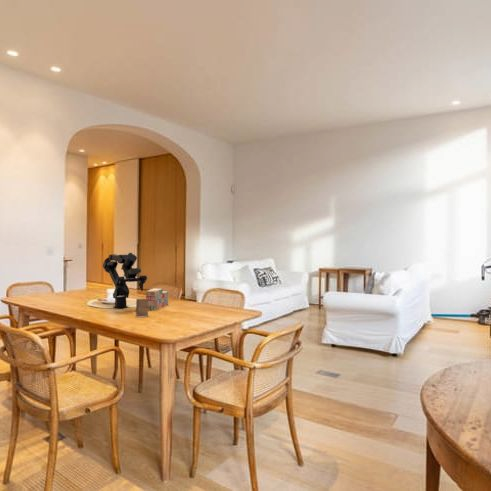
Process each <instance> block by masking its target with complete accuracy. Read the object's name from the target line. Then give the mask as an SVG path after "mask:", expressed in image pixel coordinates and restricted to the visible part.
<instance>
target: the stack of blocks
mask: <svg viewBox="0 0 491 491" xmlns="http://www.w3.org/2000/svg"><path fill="white" fill-rule="evenodd" d="M145 293H146V294H145V299H148V311H156V310H160V309H161V308H163V307H165V306H168V305H169V304H168V303H169V291H167V290H165V291H164V290H163V288H150V289H149V290H146V291H145Z"/></svg>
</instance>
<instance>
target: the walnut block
mask: <svg viewBox="0 0 491 491" xmlns="http://www.w3.org/2000/svg"><path fill="white" fill-rule="evenodd" d="M135 301H136V303H135V305H136V306H135V310H136V311H135V316H136V317H137V318H147V317H148V316H149V310H148V299H146V297H145V298H142V297H141V298H136V299H135Z"/></svg>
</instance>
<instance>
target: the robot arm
mask: <svg viewBox="0 0 491 491" xmlns="http://www.w3.org/2000/svg"><path fill="white" fill-rule="evenodd" d="M137 259H138V258H137V255H136V254H133V252H129V253H128V254H109V255H108V257H107V258H105V259H104V261H103V263H102V268H103V270H104V271H105V273H109V276H110V278H111V280H112V282H113V285H114V287H115V288H114V290H113V292H112V298H113V299H114V306H113V308H115V309H124V308H128V305H127V298H128V299H129V295H130V289H129V287H128V285H127V283H132V282H135V283H136V282H137V283H138V287H139V289H140V291H141V292H143V291H144V285H145V284H146V282H147V280H148V276H147V275H139V274H140V273H141V272H142V270H141V269H142V268H141V267H136V268H135V267H133V266H134V265H135V263H136V261H137ZM119 264H121V270H123V276H120V275H119V274H118V271H117V266H118V265H119ZM138 275H139V277H137V276H138Z"/></svg>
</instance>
